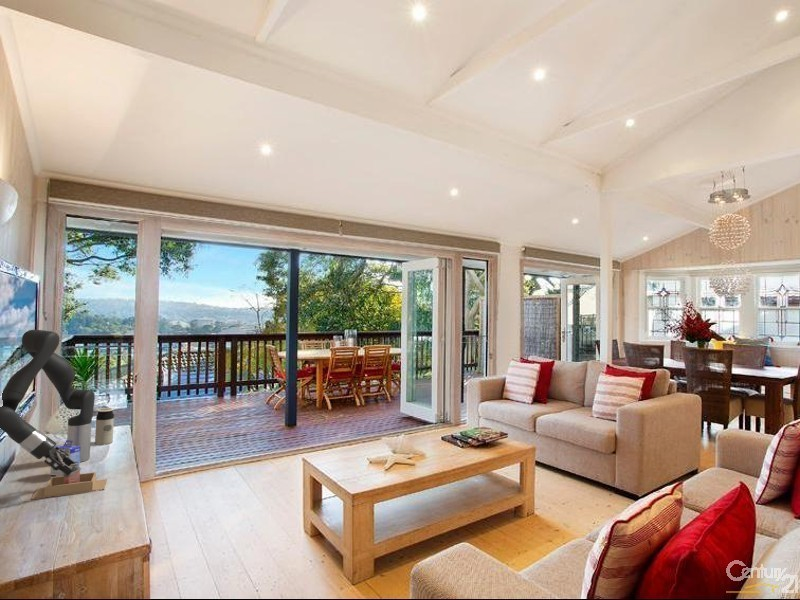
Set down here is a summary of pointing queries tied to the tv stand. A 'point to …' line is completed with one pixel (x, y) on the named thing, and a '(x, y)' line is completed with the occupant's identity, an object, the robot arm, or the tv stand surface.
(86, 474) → the mailer box
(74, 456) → the ink cartridge box
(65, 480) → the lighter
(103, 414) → the travel mug
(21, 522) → the tv stand surface
